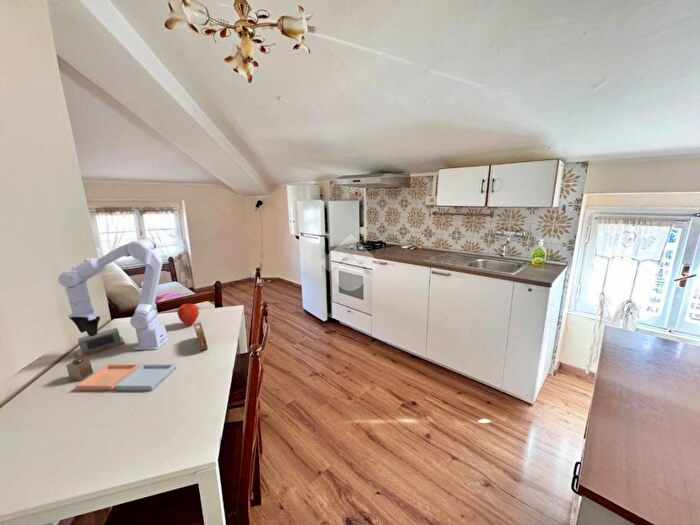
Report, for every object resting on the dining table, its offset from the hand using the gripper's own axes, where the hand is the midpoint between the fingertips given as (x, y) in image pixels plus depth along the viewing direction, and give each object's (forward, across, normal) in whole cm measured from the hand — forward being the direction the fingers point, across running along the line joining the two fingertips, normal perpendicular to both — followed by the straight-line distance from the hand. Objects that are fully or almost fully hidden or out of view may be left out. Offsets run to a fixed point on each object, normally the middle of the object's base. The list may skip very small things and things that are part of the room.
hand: (88, 333), depth 107 cm
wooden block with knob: (+9, +16, -9) cm, 20 cm away
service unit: (+8, -2, +3) cm, 9 cm away
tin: (+9, +34, +23) cm, 42 cm away
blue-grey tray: (+9, +38, +1) cm, 39 cm away
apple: (+9, +11, +32) cm, 35 cm away
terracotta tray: (+9, +26, -5) cm, 28 cm away
